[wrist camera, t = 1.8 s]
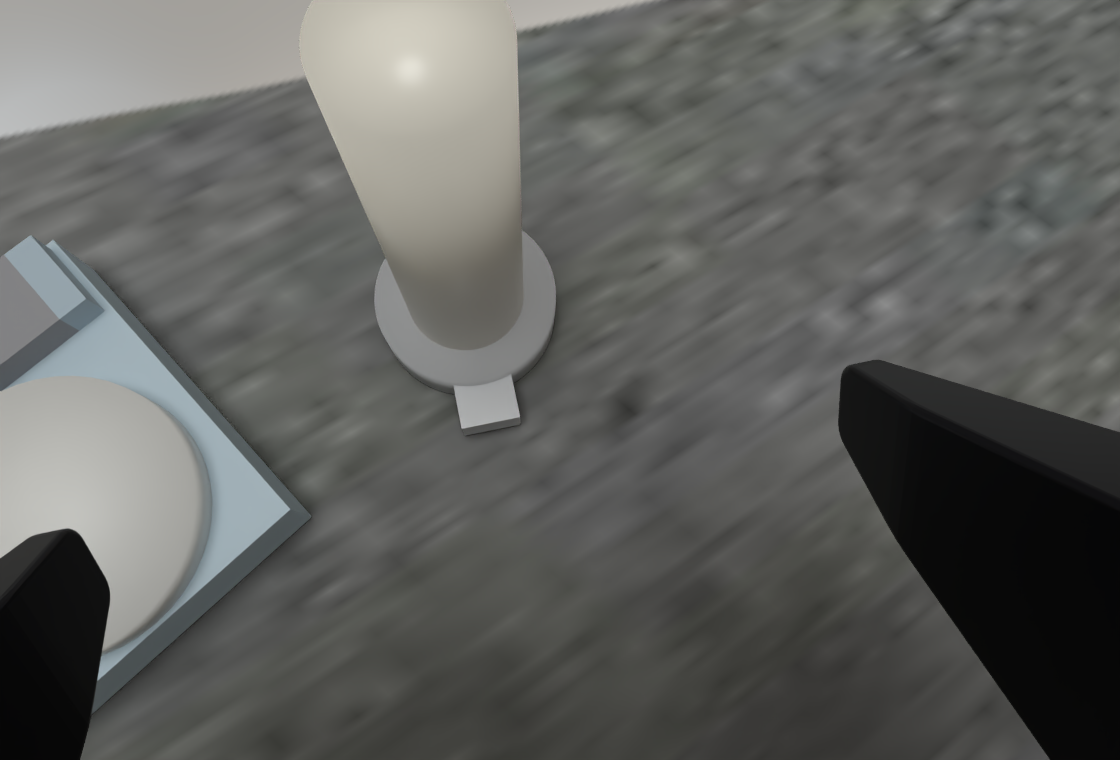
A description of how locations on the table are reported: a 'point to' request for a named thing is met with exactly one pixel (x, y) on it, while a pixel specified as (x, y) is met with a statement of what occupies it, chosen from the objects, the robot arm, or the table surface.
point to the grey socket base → (123, 458)
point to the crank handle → (439, 187)
